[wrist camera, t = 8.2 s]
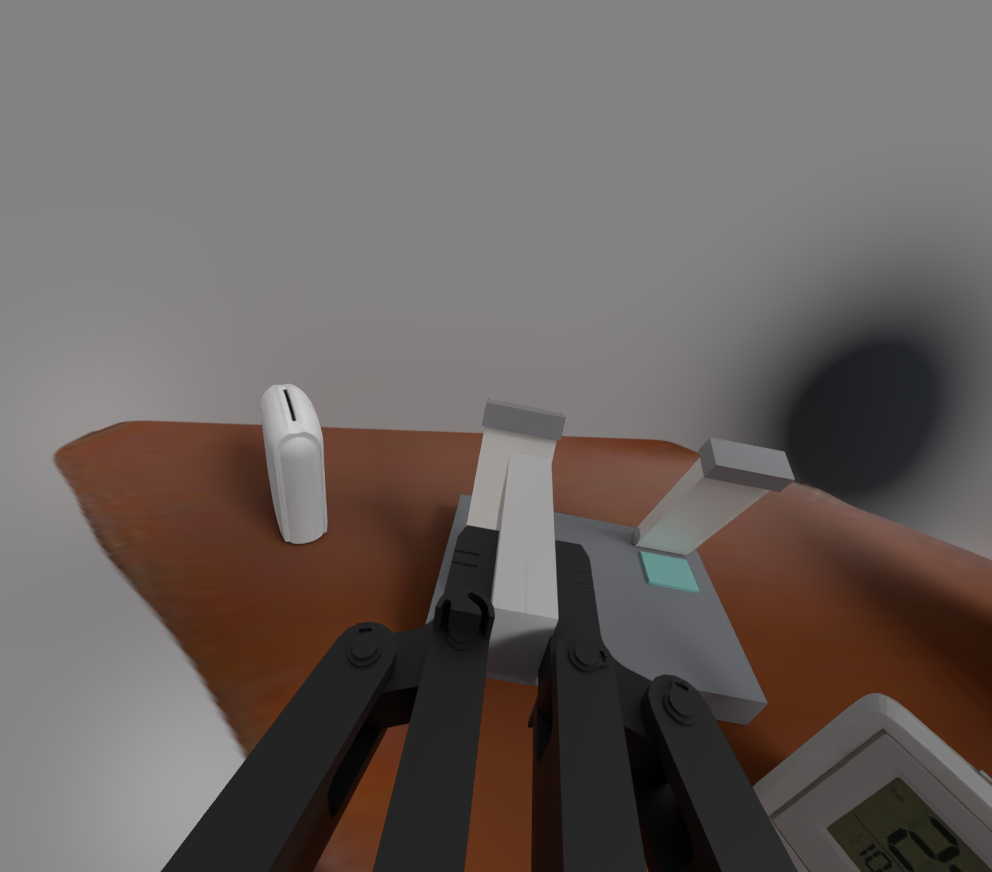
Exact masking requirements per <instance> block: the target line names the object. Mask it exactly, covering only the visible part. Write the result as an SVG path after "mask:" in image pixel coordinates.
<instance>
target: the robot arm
mask: <svg viewBox="0 0 992 872" xmlns="http://www.w3.org/2000/svg"><path fill="white" fill-rule="evenodd" d="M593 586H594V584H593V577H592V570H591V563H590V558H589V556H588V555H587V553H586V551H585V550H584V548H583V546H582V545H581V544H576V543H570V542H565V541H559V540H555V534H554V512H553V491H552V469H551V459H548V458H543V457H537V456H532V455H526V454H520V453H515V452H510V455H509V460H508V465H507V470H506V475H505V480H504V485H503V490H502V495H501V500H500V505H499V511H498V518H497V526H496V530H492V529H487V528H481V527H475V526H470V525H467V526H466V527H465V528H464V529H463V531H462V532H461V533H460V534H459V535H458V537H457V541H456V545H455V549H454V553H453V557H452V562H451V565H450V569H449V574H448V578H447V582H446V586H445V590H444V594H443V595H442V596H441V597H440V599H439V601H438V602H437V604H436V606H435V614H434V618H433V619H432V620H431V621H430V622H429V623H428V624H426V625H424V626H422V627H420V628H418V629H414V630H410V631H403V632H396V633H392V632H391V630H389V629H388V628H386V627H385V626H384V625H382V624H379V623H374V622H366V623H359V624H357V625H355V626H352V627H350V628H348V629H347V630H346V631H345V632H344V633H343V634H342V635H341V636H339V637H338V639H337V640H336V641H335V643H334V644H333V645H332V647H331V648H330V649H329V650H328V652H327V653H326V654H325V656H324V657H323V658H322V660H321V661H320V662H319V664H318V665H317V666H316V668H315V669H314V670H313V672H312V673H311V674H310V676H309V677H308V678H307V679H306V681H305V682H304V683H303V685H302V686H301V687H300V689H299V690H298V691H297V693H296V694H295V695H294V697H293V698H292V699H291V701H290V702H289V703H288V705H287V706H286V707H285V709H284V710H283V711H282V712H281V714H280V715H279V716H278V718H277V719H276V720H275V722H274V723H273V724H272V726H271V727H270V728H269V730H268V731H267V732H266V734H265V735H264V736H263V738H262V739H261V740H260V741H259V743H258V744H257V745H256V747H255V748H254V749H253V751H252V752H251V753H250V755H249V756H248V757H247V759H246V760H245V761H244V763H243V764H242V765H241V767H240V768H239V769H238V771H237V772H236V773H235V775H234V776H233V777H232V778H231V780H230V781H229V783H228V784H227V785H226V786H225V788H224V789H223V790H222V792H221V793H220V794H219V796H218V797H217V798H216V800H215V801H214V802H213V804H212V805H211V806H210V807H209V809H208V810H207V811H206V813H205V814H204V815H203V817H202V818H201V819H200V821H199V822H198V823H197V825H196V826H195V827H194V829H193V830H192V831H191V833H190V834H189V835H188V837H187V838H186V839H185V840H184V842H183V843H182V844H181V846H180V847H179V848H178V850H177V851H176V852H175V854H174V855H173V856H172V858H171V859H170V860H169V862H168V863H167V864H166V866H165V867H164V868H163V870H162V871H161V872H313V870H314V868H315V866H316V865H317V863H318V861H319V859H320V857H321V855H322V853H323V851H324V849H325V847H326V845H327V844H328V842H329V840H330V838H331V836H332V834H333V832H334V830H335V828H336V826H337V824H338V822H339V821H340V819H341V817H342V815H343V813H344V811H345V809H346V807H347V805H348V803H349V801H350V800H351V798H352V796H353V794H354V792H355V790H356V788H357V786H358V784H359V782H360V780H361V779H362V777H363V775H364V773H365V771H366V769H367V767H368V765H369V763H370V761H371V759H372V757H373V756H374V754H375V752H376V750H377V748H378V746H379V744H380V742H381V740H382V738H383V736H384V735H385V733H386V731H387V729H388V727H393V726H398V725H403V724H408V723H409V728H408V732H407V736H406V740H405V744H404V748H403V752H402V756H401V760H400V764H399V768H398V772H397V776H396V780H395V784H394V788H393V792H392V796H391V800H390V804H389V808H388V812H387V816H386V820H385V824H384V828H383V832H382V837H381V841H380V845H379V849H378V853H377V857H376V861H375V865H374V869H373V872H464V867H465V858H466V849H467V840H468V831H469V822H470V813H471V804H472V795H473V786H474V777H475V768H476V759H477V750H478V741H479V732H480V723H481V714H482V705H483V696H484V687H485V678H486V677H487V678H492V679H498V680H503V681H509V682H514V683H520V684H525V685H531V686H535V683H536V680H537V677H538V696H537V699H536V701H535V704H534V707H533V709H532V712H531V715H530V717H529V722H528V727H530V728H532V726H533V781H532V853H531V872H647V870H646V865H647V868H648V871H649V872H798V871H797V869H796V867H795V865H794V863H793V861H792V860H791V858H790V856H789V854H788V852H787V850H786V848H785V847H784V845H783V843H782V841H781V839H780V837H779V836H778V834H777V832H776V830H775V828H774V826H773V824H772V823H771V821H770V819H769V817H768V815H767V813H766V811H765V810H764V808H763V806H762V804H761V802H760V800H759V798H758V797H757V795H756V793H755V791H754V789H753V787H752V786H751V784H750V782H749V780H748V778H747V776H746V774H745V773H744V771H743V769H742V767H741V765H740V763H739V761H738V760H737V758H736V756H735V754H734V752H733V750H732V748H731V747H730V745H729V743H728V741H727V739H726V737H725V736H724V734H723V732H722V730H721V728H720V726H719V724H718V723H717V721H716V719H715V717H714V715H713V713H712V711H711V710H710V708H709V706H708V704H707V702H706V701H705V700H704V698H703V697H702V695H701V694H700V693H699V691H698V690H696V689H695V688H694V687H693V686H692V685H691V684H690V683H688V682H687V681H685V680H683V679H681V678H679V677H677V676H674V675H667V674H664V675H661V676H658V677H655V678H654V680H653V681H651V680H649V679H647V678H645V677H643V676H642V675H640V674H638V673H636V672H634V671H632V670H630V669H628V668H626V667H625V666H623V665H622V664H620V663H619V662H618V661H617V660H616V659H615V658H614V657H613V656H612V655H611V654H610V651H609V650H608V649H607V647H606V646H605V645H604V643H603V640H602V637H601V632H600V625H599V619H598V612H597V605H596V598H595V591H594V588H593ZM645 861H646V864H645Z"/></svg>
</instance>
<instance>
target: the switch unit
mask: <svg viewBox="0 0 992 872" xmlns="http://www.w3.org/2000/svg"><path fill="white" fill-rule="evenodd" d="M471 499H472V496H469V495H463V494H461V496H460V499H459V503H458V507H457V511H456V514H455V518H454V522H453V525H452V529H451V533H450V536H449V540H448V544H447V547H446V551H445V555H444V558H443V562H442V566H441V569H440V573H439V577H438V580H437V584H436V588H435V591H434V595H433V599H432V602H431V606H430V610H429V613H428V617H427V621H426V624H428V623H429V622H430V621H431V620H432V619H433V618H434V614H435V606H436V604H437V602H438V601H439V599H440V597H441V596H442V595H443V594H444V590H445V586H446V582H447V578H448V574H449V569H450V565H451V562H452V557H453V553H454V549H455V545H456V541H457V537H458V535H459V534H460V533H461V532H462V531H463V529H464V528H465V527H466V526H467V520H468V515H469V510H470V504H471ZM634 528H635V527H630V526H625V525H619V524H614V523H609V522H604V521H599V520H593V519H588V518H583V517H578V516H573V515H567V514H562V513H557V512H554V534H555V540H559V541H565V542H570V543H576V544H581V545H582V546H583V548H584V550H585V551H586V553H587V555H588V556H589V558H590V563H591V570H592V577H593V584H594V586H593V588H594V591H595V598H596V605H597V612H598V619H599V625H600V632H601V637H602V640H603V643H604V645H605V646H606V647H607V649H608V650H609V651H610V654H611V655H612V656H613V657H614V658H615V659H616V660H617V661H618V662H619V663H620V664H622V665H623V666H625V667H626V668H628V669H630V670H632V671H634V672H636V673H638V674H640V675H642V676H643V677H645V678H647V679H649V680H651V681H653V680H654V678H655V677H658V676H661V675H664V674H667V675H674V676H677V677H679V678H681V679H683V680H685V681H687V682H688V683H690V684H691V685H692V686H693V687H694V688H695V689H696V690H698V691H699V693H700V694H701V695H702V697H703V698H704V700H705V701H706V702H707V704H708V706H709V708H710V710H711V711H712V713H713V715H714V717H715V719H716V720H721V721H726V722H731V723H736V724H742V725H748V724H749V723H750V722H751V721H752V720H753V719H754V718H755V717H756V716H757V714H758V713H759V712H760V711H761V710H762V709H763V708H764V707H765V706H766V705H767V704H768V703H767V701H766V698H765V696H764V694H763V692H762V690H761V688H760V686H759V683H758V681H757V679H756V677H755V675H754V673H753V670H752V668H751V666H750V664H749V662H748V660H747V658H746V655H745V653H744V651H743V649H742V647H741V645H740V642H739V640H738V638H737V636H736V634H735V632H734V630H733V627H732V625H731V623H730V621H729V619H728V617H727V614H726V612H725V610H724V608H723V606H722V604H721V602H720V599H719V597H718V595H717V593H716V591H715V589H714V587H713V584H712V582H711V580H710V578H709V576H708V574H707V571H706V569H705V567H704V565H703V563H702V561H701V559H700V556H699V554H698V552H697V550H696V548H695V549H694V550H693V552H692V554H690V555H689V554H688V555H681V554H676V553H671V552H665V551H660V550H655V549H650V548H645V547H639V546H635V544H633V543H632V531H633V529H634ZM426 624H425V625H426ZM535 685H537V686H538V677H537V680H536V683H535Z"/></svg>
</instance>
